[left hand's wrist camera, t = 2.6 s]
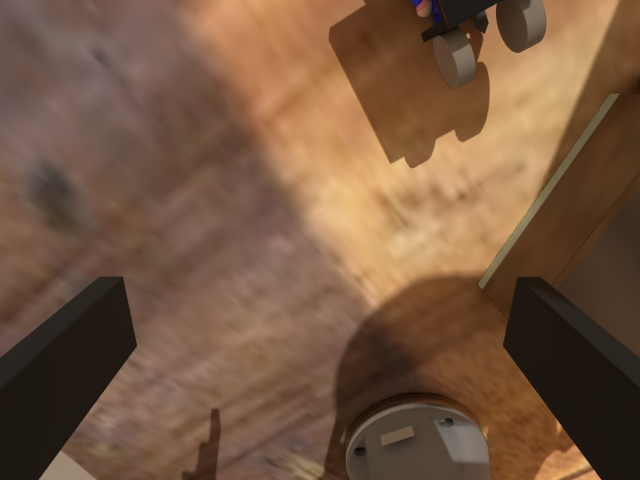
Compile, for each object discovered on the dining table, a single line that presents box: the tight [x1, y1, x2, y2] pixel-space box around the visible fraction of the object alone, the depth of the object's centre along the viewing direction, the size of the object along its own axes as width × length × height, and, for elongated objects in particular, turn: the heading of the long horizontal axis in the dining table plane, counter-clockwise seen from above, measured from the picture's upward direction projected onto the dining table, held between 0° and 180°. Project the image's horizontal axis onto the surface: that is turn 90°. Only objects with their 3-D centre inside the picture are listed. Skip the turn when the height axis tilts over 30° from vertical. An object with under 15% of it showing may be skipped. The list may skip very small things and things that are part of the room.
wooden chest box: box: [478, 94, 640, 358], centre depth 29 cm, size 18×11×8 cm, turn 155°
